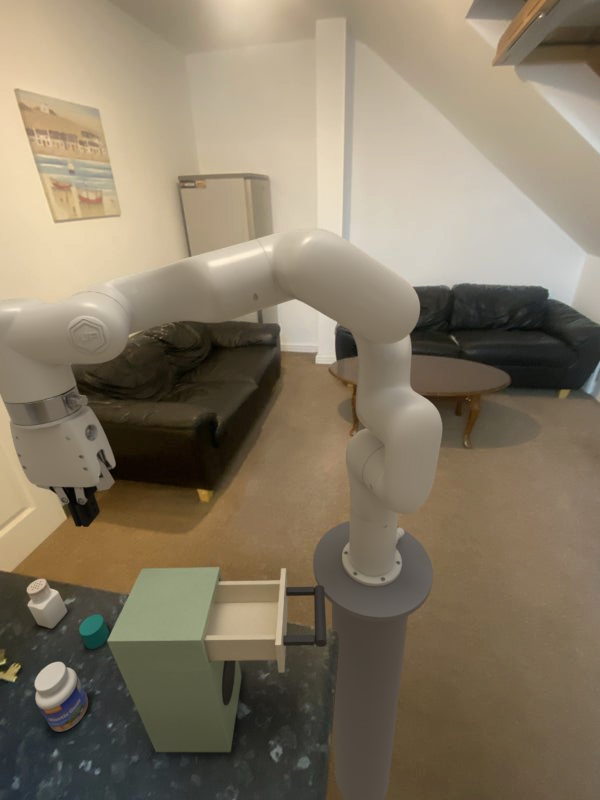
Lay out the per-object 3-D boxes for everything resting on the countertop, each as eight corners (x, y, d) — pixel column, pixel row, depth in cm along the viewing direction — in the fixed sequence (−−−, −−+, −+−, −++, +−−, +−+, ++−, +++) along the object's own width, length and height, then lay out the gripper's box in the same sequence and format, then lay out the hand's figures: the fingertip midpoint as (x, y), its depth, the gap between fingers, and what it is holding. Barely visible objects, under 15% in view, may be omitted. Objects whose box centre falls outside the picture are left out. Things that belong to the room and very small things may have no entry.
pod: (104, 623, 72) (99, 610, 70) (112, 638, 69) (106, 624, 68) (82, 638, 69) (76, 624, 68) (89, 654, 67) (82, 640, 65)
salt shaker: (54, 607, 76) (37, 574, 72) (69, 611, 75) (53, 578, 70) (36, 625, 72) (18, 592, 68) (52, 630, 71) (35, 597, 67)
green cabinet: (243, 675, 62) (222, 566, 51) (232, 752, 53) (203, 640, 42) (177, 676, 63) (141, 568, 52) (155, 752, 54) (106, 641, 43)
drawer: (324, 593, 53) (323, 567, 51) (327, 672, 44) (327, 644, 42) (213, 595, 54) (207, 569, 52) (193, 673, 45) (185, 645, 42)
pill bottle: (54, 742, 55) (30, 706, 51) (47, 710, 59) (25, 675, 55) (93, 712, 59) (74, 677, 54) (84, 684, 62) (66, 649, 58)
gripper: (120, 391, 48) (150, 503, 55) (14, 391, 49) (58, 500, 57) (84, 419, 41) (124, 542, 49) (-38, 418, 42) (20, 537, 50)
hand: (88, 519), depth 53 cm, fingers closed
